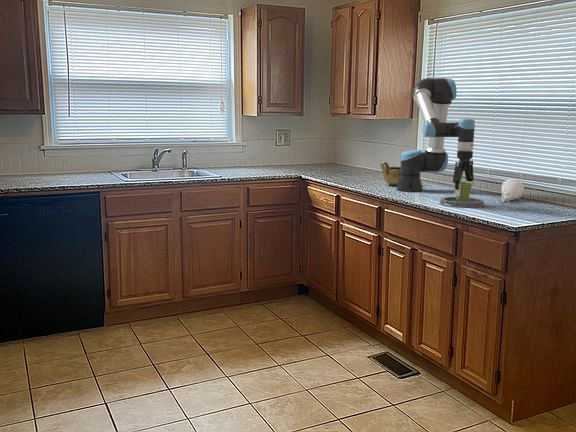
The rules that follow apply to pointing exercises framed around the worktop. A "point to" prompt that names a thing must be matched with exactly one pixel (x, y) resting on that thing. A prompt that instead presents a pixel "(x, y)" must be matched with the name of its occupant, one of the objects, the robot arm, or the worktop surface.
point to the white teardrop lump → (511, 190)
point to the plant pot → (464, 191)
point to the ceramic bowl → (390, 173)
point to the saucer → (462, 202)
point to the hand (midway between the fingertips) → (462, 194)
